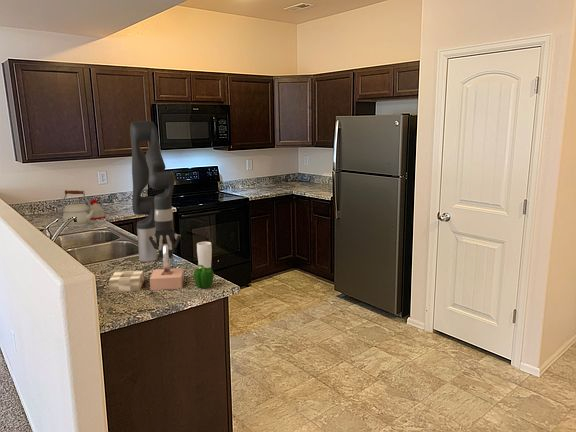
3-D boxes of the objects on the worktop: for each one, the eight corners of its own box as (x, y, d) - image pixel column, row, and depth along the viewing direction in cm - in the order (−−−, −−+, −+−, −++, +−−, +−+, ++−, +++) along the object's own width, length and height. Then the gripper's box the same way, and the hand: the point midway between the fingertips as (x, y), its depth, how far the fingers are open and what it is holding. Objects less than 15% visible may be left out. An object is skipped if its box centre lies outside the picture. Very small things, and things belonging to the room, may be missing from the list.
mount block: (115, 282, 198) (115, 271, 197) (143, 281, 199) (143, 270, 198) (109, 292, 186) (108, 280, 185) (139, 290, 188) (138, 279, 187)
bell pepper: (217, 284, 195) (216, 262, 193) (209, 290, 187) (208, 267, 185) (199, 282, 197) (198, 261, 195) (191, 289, 189) (190, 266, 187)
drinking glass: (207, 271, 213) (206, 240, 210) (215, 274, 208) (214, 243, 205) (195, 274, 208) (193, 243, 206) (203, 277, 204) (202, 245, 201)
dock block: (154, 280, 201) (153, 269, 200) (183, 278, 203) (183, 268, 202) (150, 290, 188) (149, 278, 187) (181, 288, 190) (181, 277, 189)
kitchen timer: (81, 219, 340) (80, 200, 337) (94, 216, 353) (92, 197, 350) (97, 220, 336) (95, 200, 333) (109, 217, 349) (107, 198, 346)
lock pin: (163, 270, 195) (162, 244, 193) (170, 270, 196) (169, 243, 193) (163, 272, 192) (161, 245, 190) (170, 272, 193) (168, 245, 191)
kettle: (55, 226, 313) (51, 191, 309) (72, 221, 331) (68, 188, 326) (87, 228, 309) (84, 192, 305) (102, 222, 327) (100, 189, 322)
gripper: (181, 216, 194) (183, 254, 198) (148, 217, 192) (150, 256, 196) (180, 220, 187) (182, 259, 190) (145, 221, 185) (148, 261, 188)
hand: (166, 257), depth 193 cm, fingers closed on lock pin, 3 cm apart
